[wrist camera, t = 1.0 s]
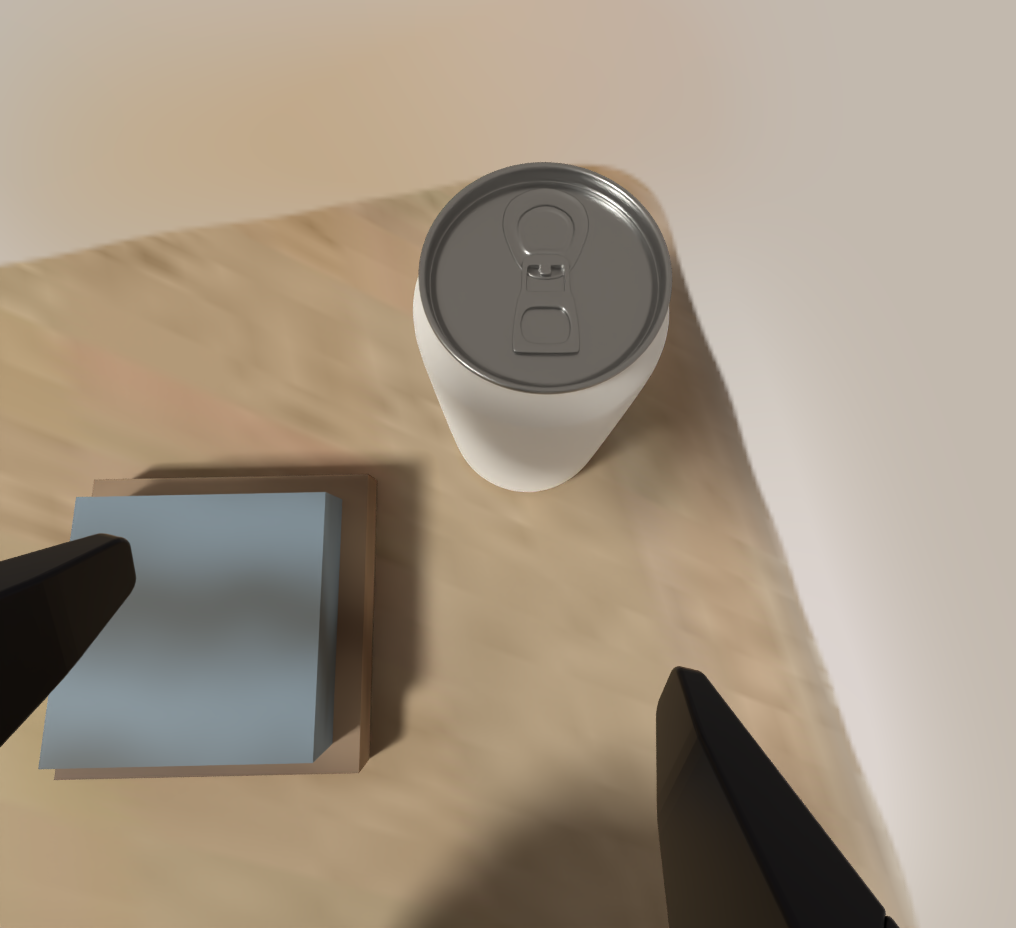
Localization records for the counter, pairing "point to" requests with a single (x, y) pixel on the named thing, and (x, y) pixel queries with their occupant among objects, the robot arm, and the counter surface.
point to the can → (540, 317)
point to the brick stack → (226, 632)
